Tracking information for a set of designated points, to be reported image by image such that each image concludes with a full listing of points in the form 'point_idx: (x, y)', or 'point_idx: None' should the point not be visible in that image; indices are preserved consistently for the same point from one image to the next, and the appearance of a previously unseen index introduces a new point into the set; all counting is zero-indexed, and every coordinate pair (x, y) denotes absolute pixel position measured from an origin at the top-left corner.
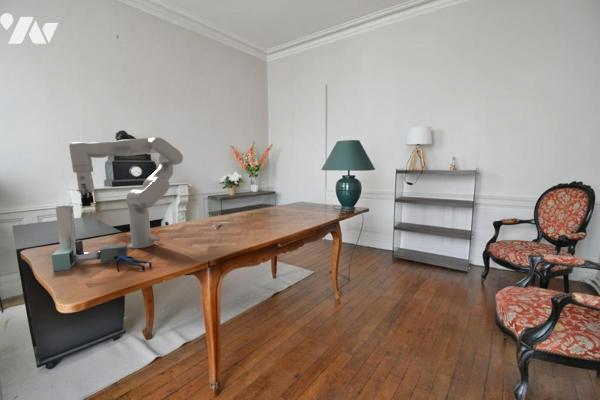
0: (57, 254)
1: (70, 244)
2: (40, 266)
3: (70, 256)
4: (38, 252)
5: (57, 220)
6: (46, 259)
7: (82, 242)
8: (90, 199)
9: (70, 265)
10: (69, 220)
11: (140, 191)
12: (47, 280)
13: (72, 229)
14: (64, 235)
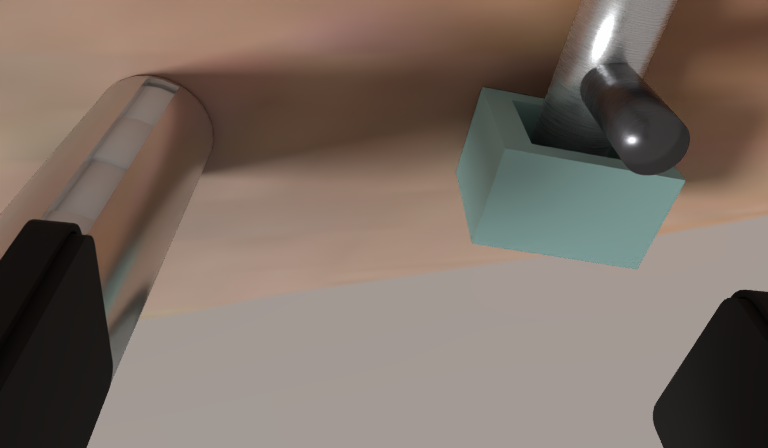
0: (652, 239)
1: (185, 159)
2: (413, 260)
3: (609, 147)
4: None
5: None
6: (250, 245)
7: (655, 106)
8: (45, 381)
9: None
10: None
11: None
12: (760, 211)
13: (112, 222)
14: (165, 251)
